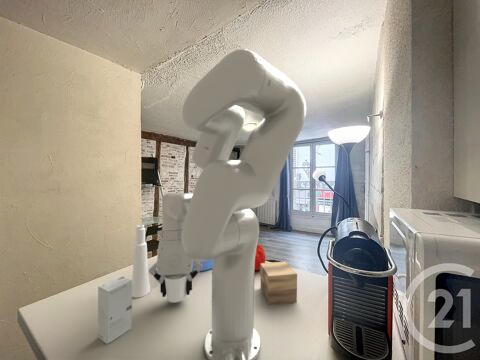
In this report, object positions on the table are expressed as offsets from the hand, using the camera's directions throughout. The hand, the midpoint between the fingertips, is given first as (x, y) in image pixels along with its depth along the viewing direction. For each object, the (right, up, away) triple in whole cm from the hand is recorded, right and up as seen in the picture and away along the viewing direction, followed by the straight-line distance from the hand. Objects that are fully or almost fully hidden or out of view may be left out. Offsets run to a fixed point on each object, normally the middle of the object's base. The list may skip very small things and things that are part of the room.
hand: (176, 293), depth 61 cm
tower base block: (+31, -3, +5) cm, 32 cm away
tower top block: (+31, +1, +5) cm, 32 cm away
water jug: (+2, -3, +27) cm, 27 cm away
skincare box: (-11, -3, -12) cm, 17 cm away
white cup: (0, -1, 0) cm, 1 cm away
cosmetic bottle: (-13, -3, +5) cm, 15 cm away
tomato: (+24, -3, +24) cm, 34 cm away
